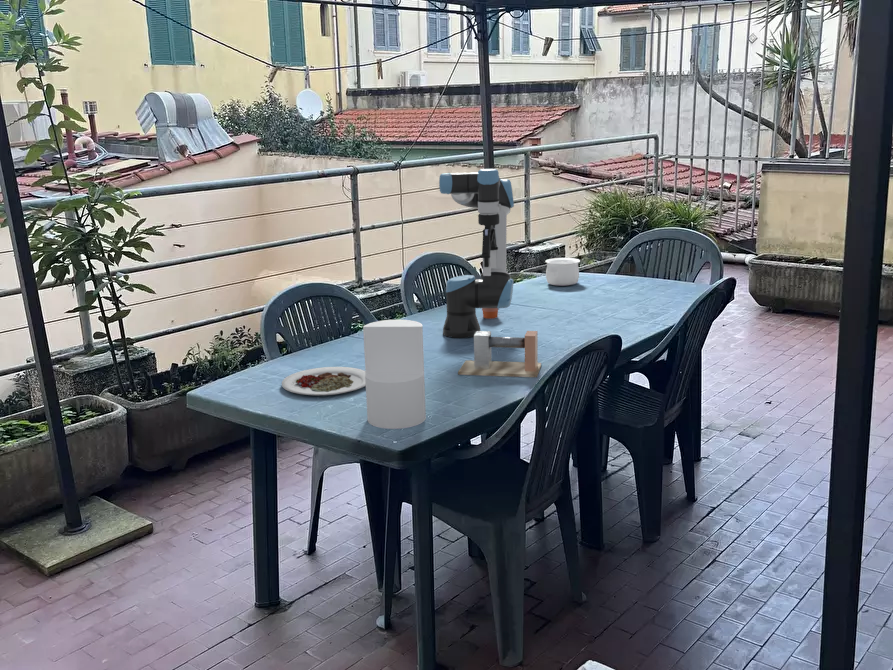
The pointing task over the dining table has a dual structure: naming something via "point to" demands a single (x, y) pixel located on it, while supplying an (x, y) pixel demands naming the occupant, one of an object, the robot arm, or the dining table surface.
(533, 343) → the tan upright block
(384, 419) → the cylinder
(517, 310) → the dining table surface
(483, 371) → the base board
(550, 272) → the pot
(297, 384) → the plated food
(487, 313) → the cup with straw
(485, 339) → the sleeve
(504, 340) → the rod
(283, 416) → the dining table surface
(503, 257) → the robot arm
